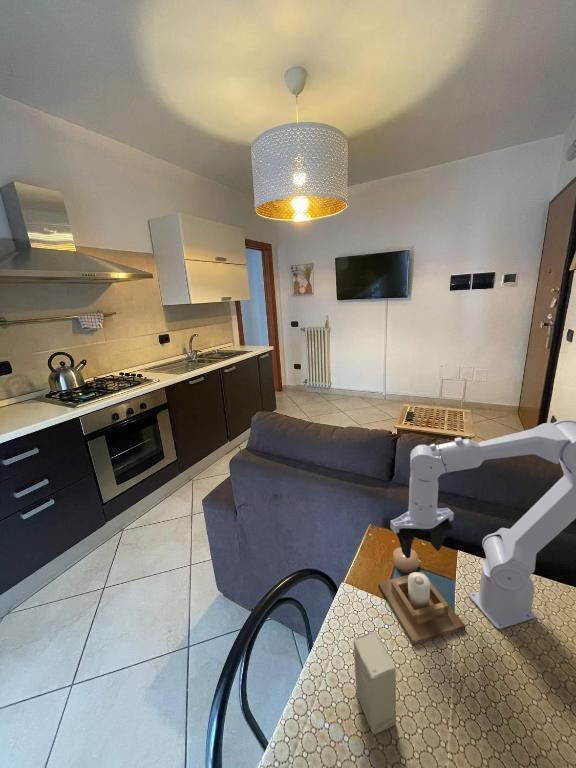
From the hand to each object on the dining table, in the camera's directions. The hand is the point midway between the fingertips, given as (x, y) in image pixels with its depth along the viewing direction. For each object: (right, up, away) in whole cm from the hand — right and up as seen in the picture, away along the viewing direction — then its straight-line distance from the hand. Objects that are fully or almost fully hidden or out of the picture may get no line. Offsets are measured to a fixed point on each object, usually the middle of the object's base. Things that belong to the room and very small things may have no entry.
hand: (420, 551), depth 71 cm
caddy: (-1, -11, -2) cm, 12 cm away
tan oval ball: (0, -8, +9) cm, 13 cm away
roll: (-1, -10, -2) cm, 11 cm away
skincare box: (-16, -17, -19) cm, 30 cm away
